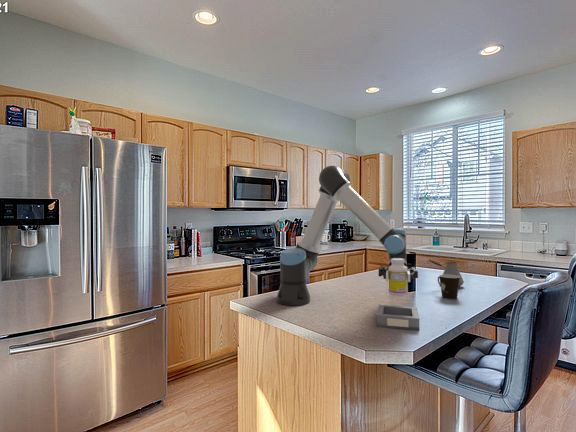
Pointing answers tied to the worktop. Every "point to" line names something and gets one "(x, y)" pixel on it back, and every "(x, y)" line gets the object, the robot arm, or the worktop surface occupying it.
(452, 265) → the coffee pot
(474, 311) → the worktop surface
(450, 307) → the worktop surface
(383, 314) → the pocket tray
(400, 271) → the supplement bottle
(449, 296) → the coffee mug
